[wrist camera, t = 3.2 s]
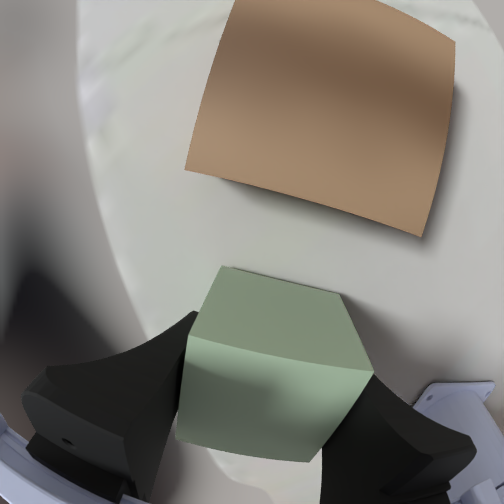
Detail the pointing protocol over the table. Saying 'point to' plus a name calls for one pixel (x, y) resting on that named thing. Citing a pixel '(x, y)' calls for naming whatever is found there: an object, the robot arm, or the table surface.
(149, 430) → the robot arm
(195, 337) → the sage cube
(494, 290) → the table surface
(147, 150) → the table surface
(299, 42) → the walnut block
